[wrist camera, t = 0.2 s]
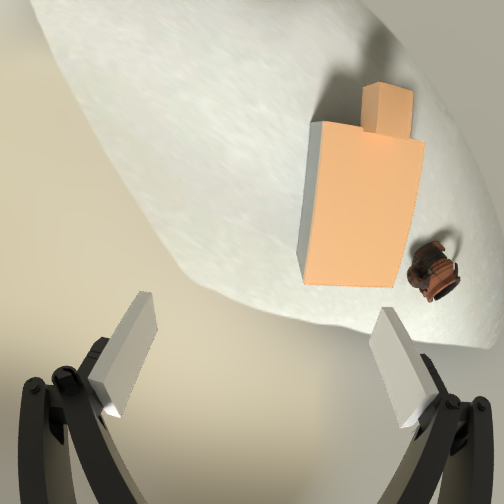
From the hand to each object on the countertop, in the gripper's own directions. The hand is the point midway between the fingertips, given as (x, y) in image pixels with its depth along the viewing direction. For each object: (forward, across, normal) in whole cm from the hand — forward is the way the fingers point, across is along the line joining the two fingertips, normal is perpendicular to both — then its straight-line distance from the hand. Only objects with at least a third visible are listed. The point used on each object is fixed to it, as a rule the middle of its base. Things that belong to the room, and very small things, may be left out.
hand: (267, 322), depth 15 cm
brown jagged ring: (+28, +30, -9) cm, 42 cm away
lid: (+20, +12, +4) cm, 24 cm away
